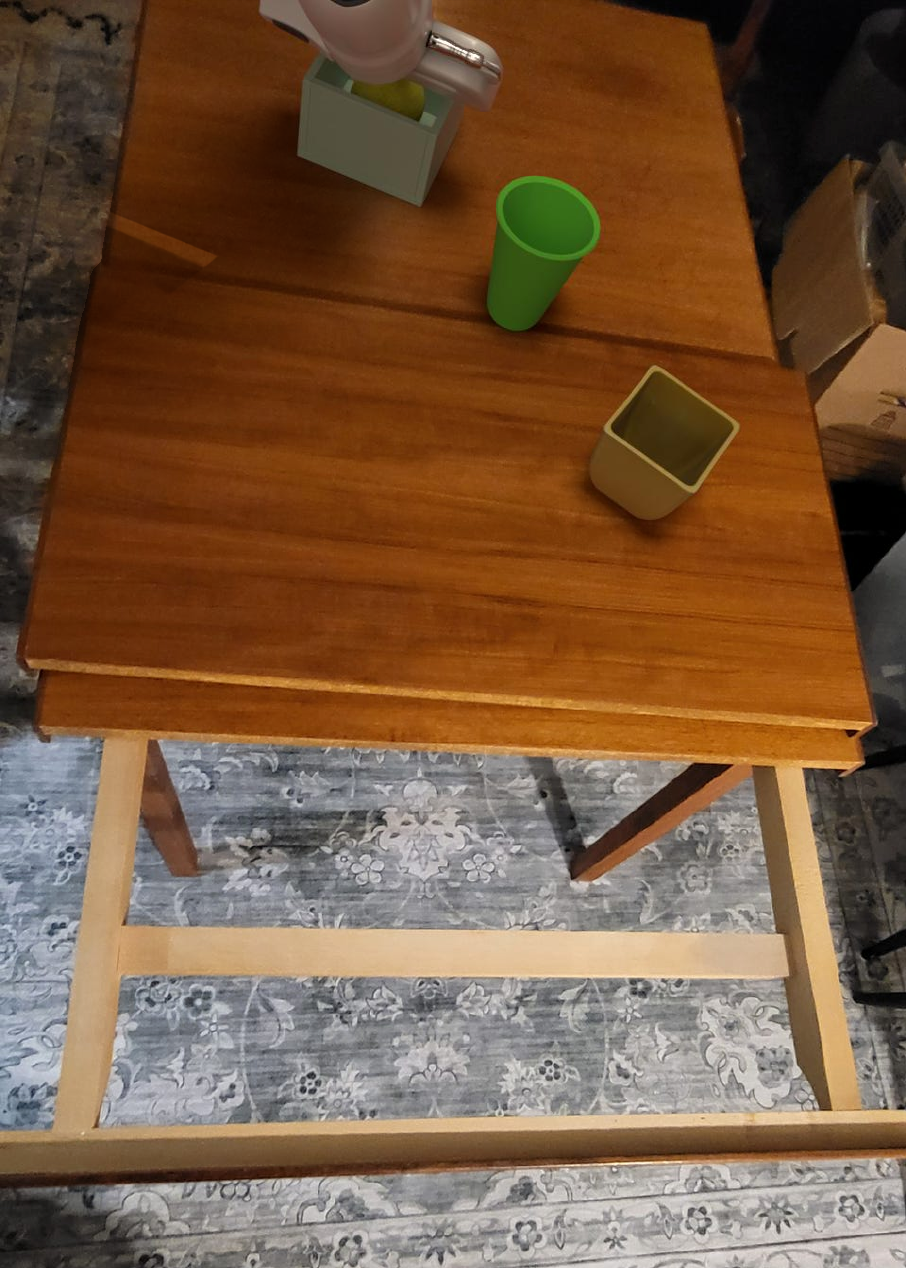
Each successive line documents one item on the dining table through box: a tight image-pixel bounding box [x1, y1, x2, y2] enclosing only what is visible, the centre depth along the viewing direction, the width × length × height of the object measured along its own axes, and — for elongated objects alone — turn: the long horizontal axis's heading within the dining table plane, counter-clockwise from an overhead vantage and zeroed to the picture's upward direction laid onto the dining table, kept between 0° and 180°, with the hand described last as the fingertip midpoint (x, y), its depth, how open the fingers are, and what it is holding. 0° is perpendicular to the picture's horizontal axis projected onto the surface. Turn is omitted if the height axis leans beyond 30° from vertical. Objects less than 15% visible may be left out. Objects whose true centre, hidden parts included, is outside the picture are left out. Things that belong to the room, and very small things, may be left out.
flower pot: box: [588, 364, 741, 521], centre depth 74 cm, size 9×9×9 cm
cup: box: [486, 175, 602, 332], centre depth 79 cm, size 9×9×11 cm
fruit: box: [350, 78, 425, 122], centre depth 82 cm, size 7×7×12 cm
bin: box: [296, 51, 465, 208], centre depth 85 cm, size 13×13×8 cm
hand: (395, 62), depth 82 cm, fingers open, 8 cm apart
